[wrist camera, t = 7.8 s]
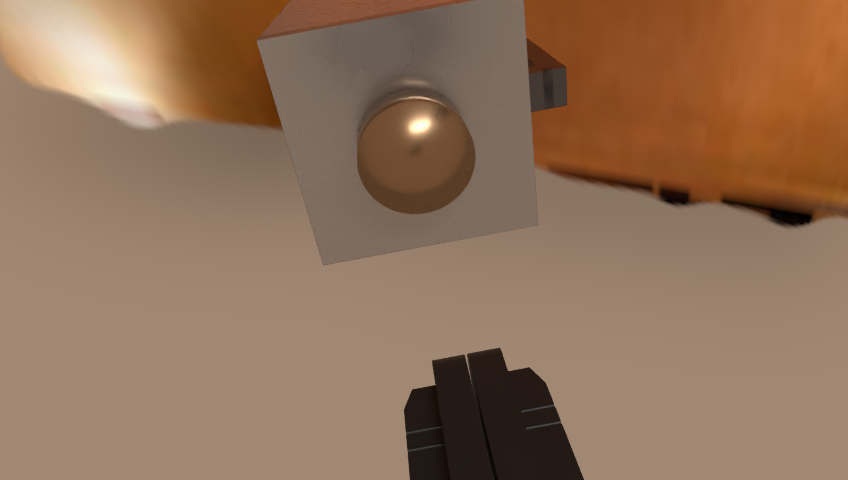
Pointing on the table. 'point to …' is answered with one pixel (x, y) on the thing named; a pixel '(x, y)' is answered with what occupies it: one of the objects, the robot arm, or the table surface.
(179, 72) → the table surface
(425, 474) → the robot arm
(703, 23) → the table surface
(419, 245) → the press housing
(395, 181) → the brass disc knob
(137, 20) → the table surface
